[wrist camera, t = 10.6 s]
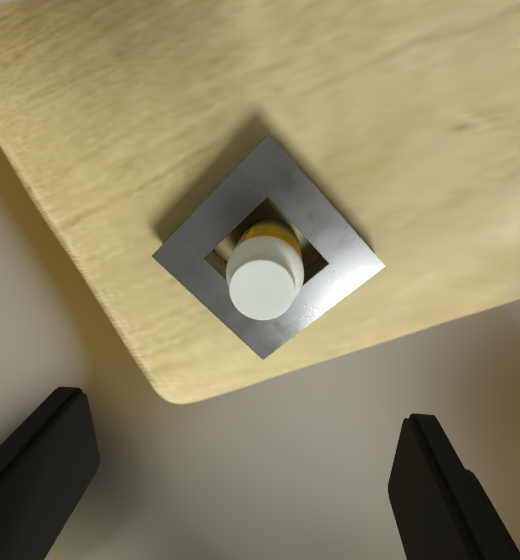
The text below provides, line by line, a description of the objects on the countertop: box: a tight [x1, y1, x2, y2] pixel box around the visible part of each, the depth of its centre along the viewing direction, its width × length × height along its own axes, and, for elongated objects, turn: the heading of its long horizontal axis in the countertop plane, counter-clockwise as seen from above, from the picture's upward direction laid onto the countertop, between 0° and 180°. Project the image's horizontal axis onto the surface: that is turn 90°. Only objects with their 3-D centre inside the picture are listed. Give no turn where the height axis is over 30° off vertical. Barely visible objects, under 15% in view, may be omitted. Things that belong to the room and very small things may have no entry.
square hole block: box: [152, 133, 385, 359], centre depth 27 cm, size 13×13×3 cm
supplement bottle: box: [226, 220, 304, 320], centre depth 24 cm, size 5×5×10 cm
